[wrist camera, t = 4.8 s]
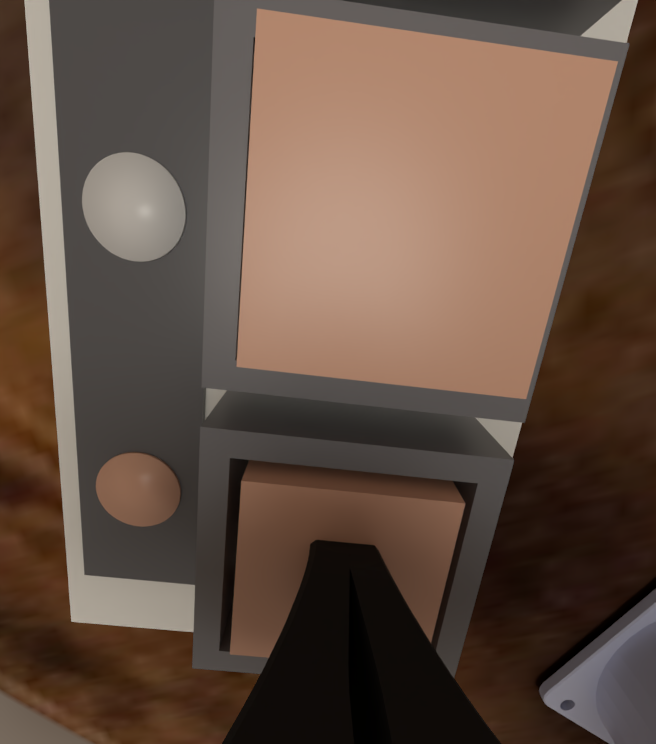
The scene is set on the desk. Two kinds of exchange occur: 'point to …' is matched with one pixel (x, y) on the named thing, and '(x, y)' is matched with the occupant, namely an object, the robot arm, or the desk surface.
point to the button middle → (409, 202)
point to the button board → (224, 307)
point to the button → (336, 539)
